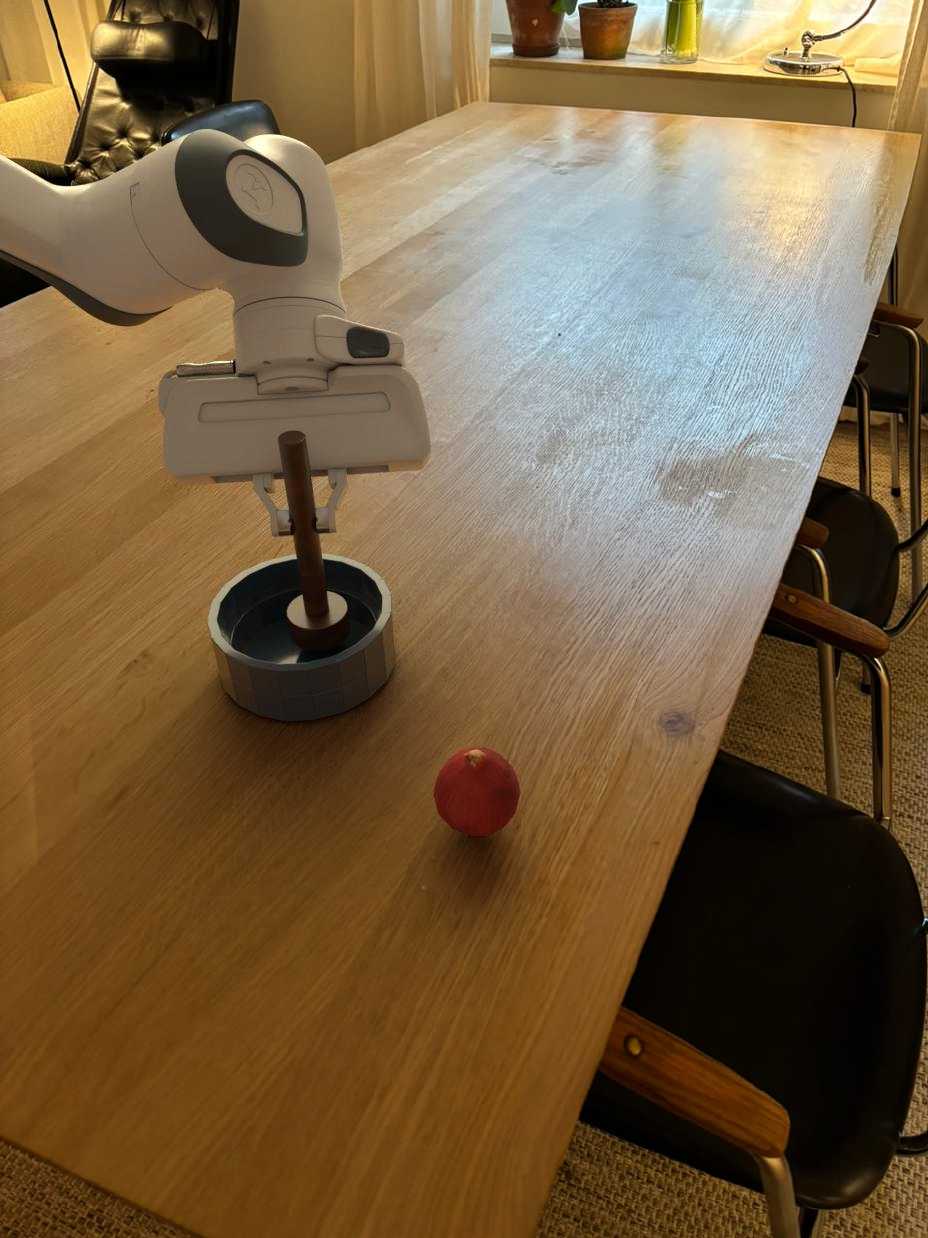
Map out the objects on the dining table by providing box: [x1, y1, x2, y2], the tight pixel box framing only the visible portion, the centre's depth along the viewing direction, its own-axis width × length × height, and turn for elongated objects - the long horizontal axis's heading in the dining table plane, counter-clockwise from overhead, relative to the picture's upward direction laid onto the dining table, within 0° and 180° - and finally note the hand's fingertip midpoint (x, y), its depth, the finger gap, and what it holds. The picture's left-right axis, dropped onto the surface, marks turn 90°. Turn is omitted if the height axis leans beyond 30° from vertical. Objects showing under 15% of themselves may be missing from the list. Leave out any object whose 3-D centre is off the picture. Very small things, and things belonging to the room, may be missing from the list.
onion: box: [433, 747, 521, 837], centre depth 67 cm, size 6×6×8 cm
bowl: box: [206, 552, 397, 722], centre depth 81 cm, size 15×15×6 cm
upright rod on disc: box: [278, 430, 350, 651], centre depth 77 cm, size 5×5×18 cm
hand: (305, 533), depth 75 cm, fingers closed on upright rod on disc
